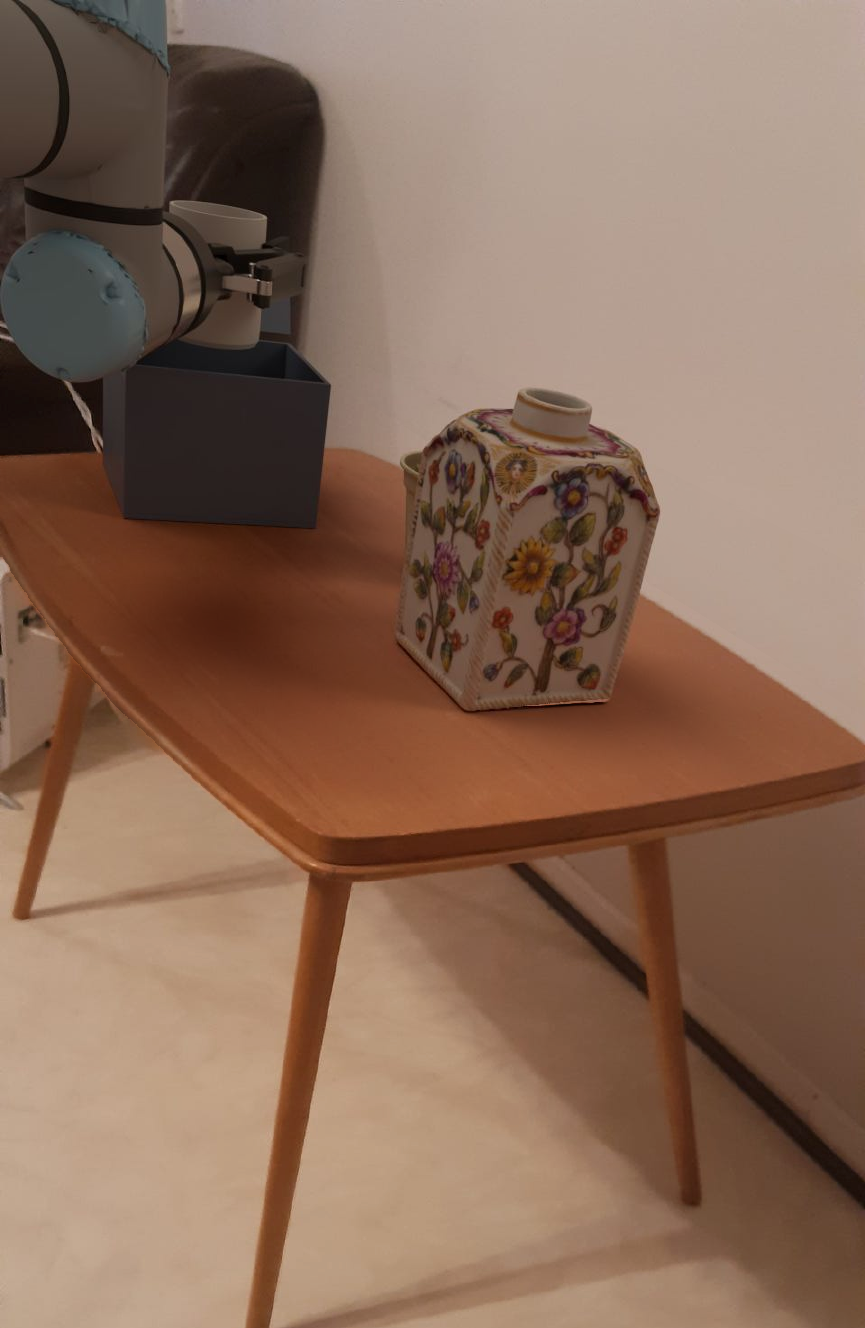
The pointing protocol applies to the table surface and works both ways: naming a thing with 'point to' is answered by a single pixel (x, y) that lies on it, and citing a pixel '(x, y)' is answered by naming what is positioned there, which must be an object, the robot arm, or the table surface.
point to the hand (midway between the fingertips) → (236, 246)
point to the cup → (236, 316)
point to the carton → (217, 435)
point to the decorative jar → (525, 554)
